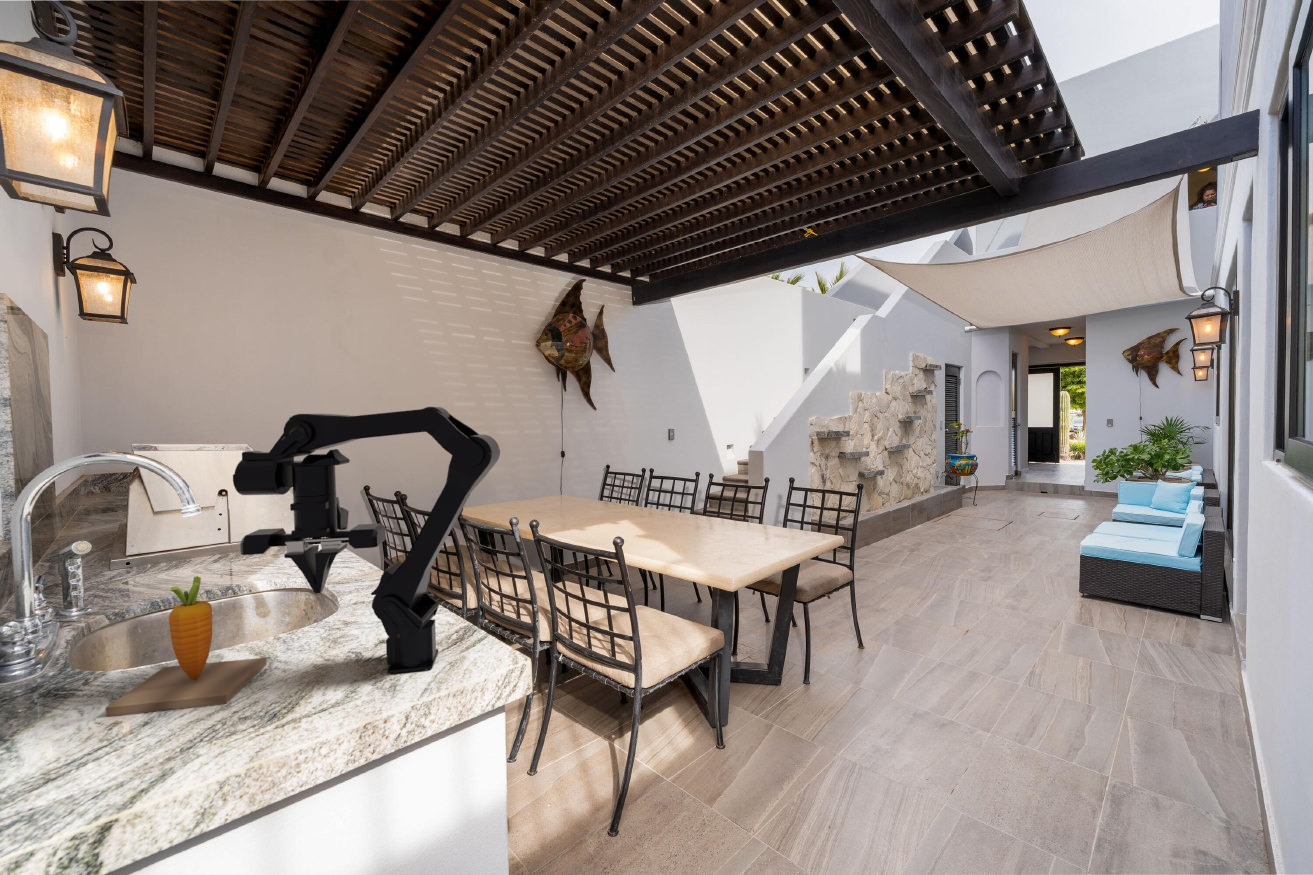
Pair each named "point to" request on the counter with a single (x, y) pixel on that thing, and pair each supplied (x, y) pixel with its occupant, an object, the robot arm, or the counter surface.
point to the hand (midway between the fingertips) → (318, 592)
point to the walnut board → (188, 687)
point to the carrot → (191, 630)
